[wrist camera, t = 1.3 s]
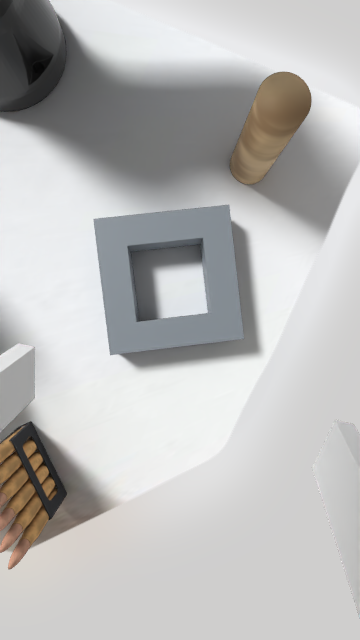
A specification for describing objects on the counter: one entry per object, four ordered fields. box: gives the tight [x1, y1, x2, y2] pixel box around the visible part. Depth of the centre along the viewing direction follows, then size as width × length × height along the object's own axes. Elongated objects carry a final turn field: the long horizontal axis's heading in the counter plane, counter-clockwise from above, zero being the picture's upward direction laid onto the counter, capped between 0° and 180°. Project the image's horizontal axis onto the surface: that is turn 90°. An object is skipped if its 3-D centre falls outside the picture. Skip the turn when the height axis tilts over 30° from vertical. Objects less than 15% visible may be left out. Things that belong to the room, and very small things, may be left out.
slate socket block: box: [94, 205, 244, 355], centre depth 38 cm, size 16×16×4 cm
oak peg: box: [230, 72, 311, 184], centre depth 33 cm, size 5×5×12 cm
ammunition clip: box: [0, 422, 67, 569], centre depth 33 cm, size 11×2×12 cm, turn 25°
